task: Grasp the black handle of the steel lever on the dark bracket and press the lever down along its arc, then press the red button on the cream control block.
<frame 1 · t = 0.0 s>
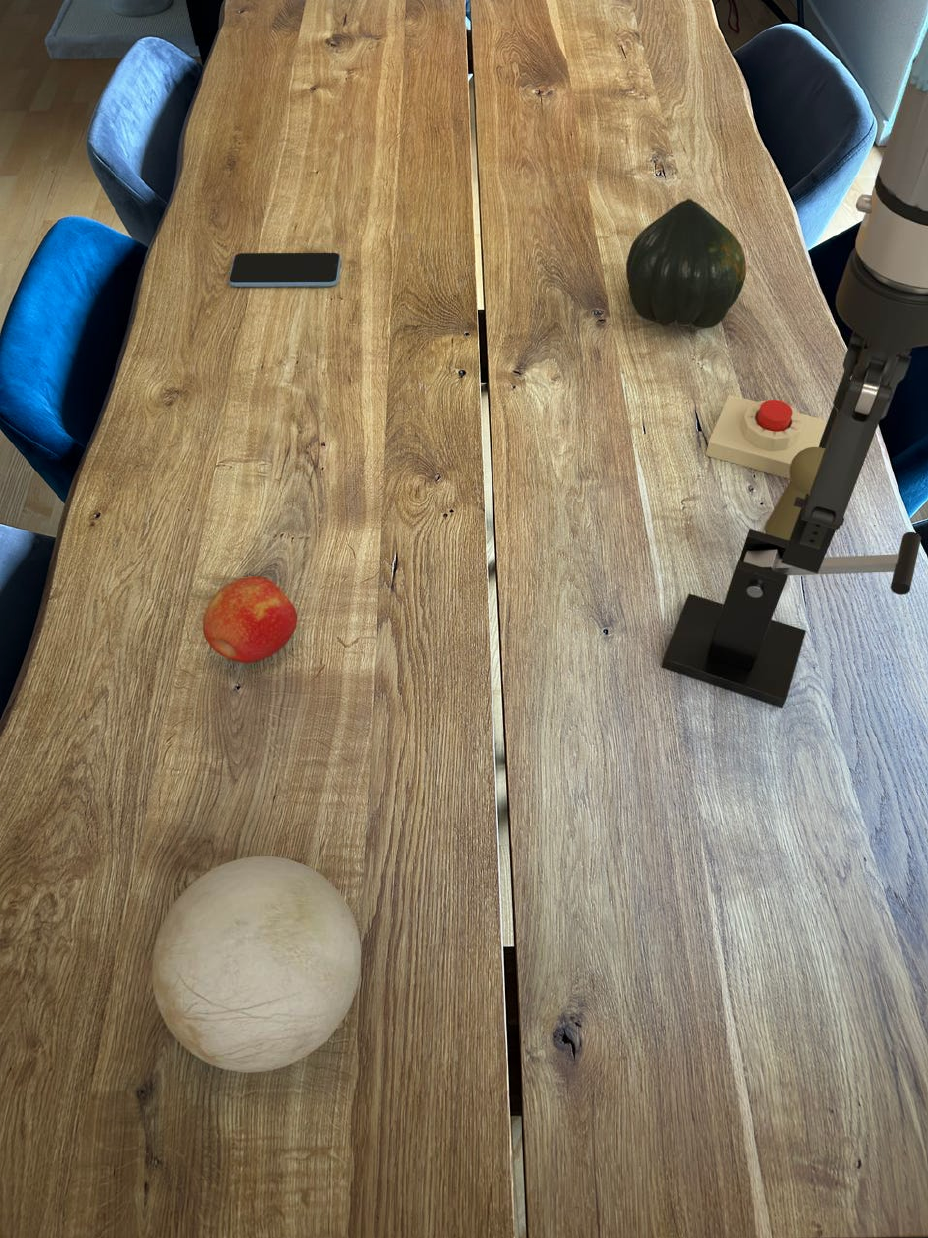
hand: (818, 504, 79), 25 cm above the table, tool pointing down, fingers open, 13 cm apart
squash: (675, 311, 135), on the table
smartphone: (285, 273, 140), on the table
olive game pawn: (792, 533, 110), on the table
control block: (765, 445, 119), on the table
bracket: (732, 653, 100), on the table
lever: (827, 565, 87), point 16 cm above the table, hinge at 28.0°
button: (774, 415, 115), point 4 cm above the table, slide at 0.1 cm
apple: (255, 646, 101), on the table
decorative sphere: (274, 993, 81), on the table
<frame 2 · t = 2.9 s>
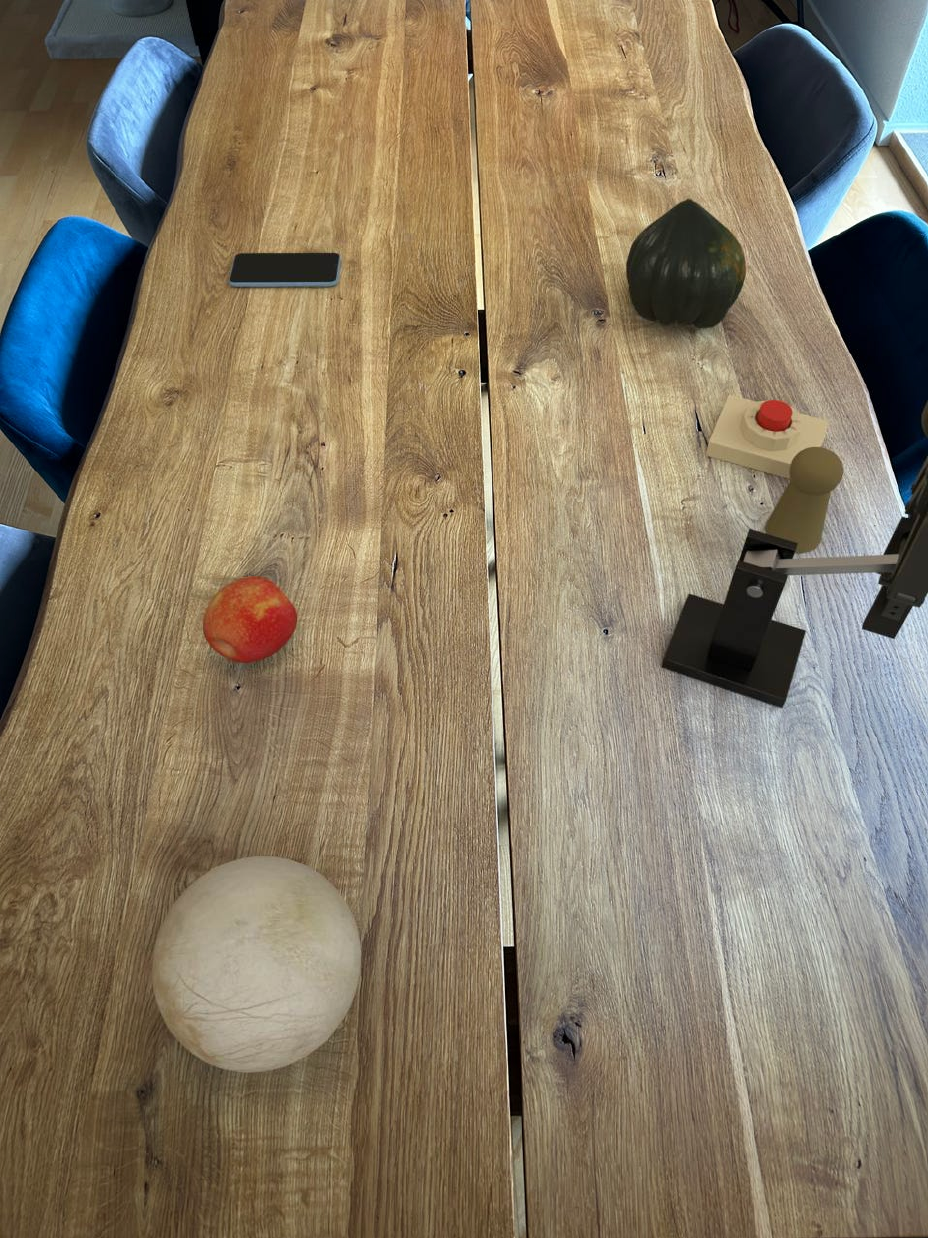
hand: (885, 601, 87), 13 cm above the table, tool pointing down, fingers closed on lever, 6 cm apart
lever: (827, 565, 87), point 16 cm above the table, hinge at 28.0°, touching gripper
everything else where it was.
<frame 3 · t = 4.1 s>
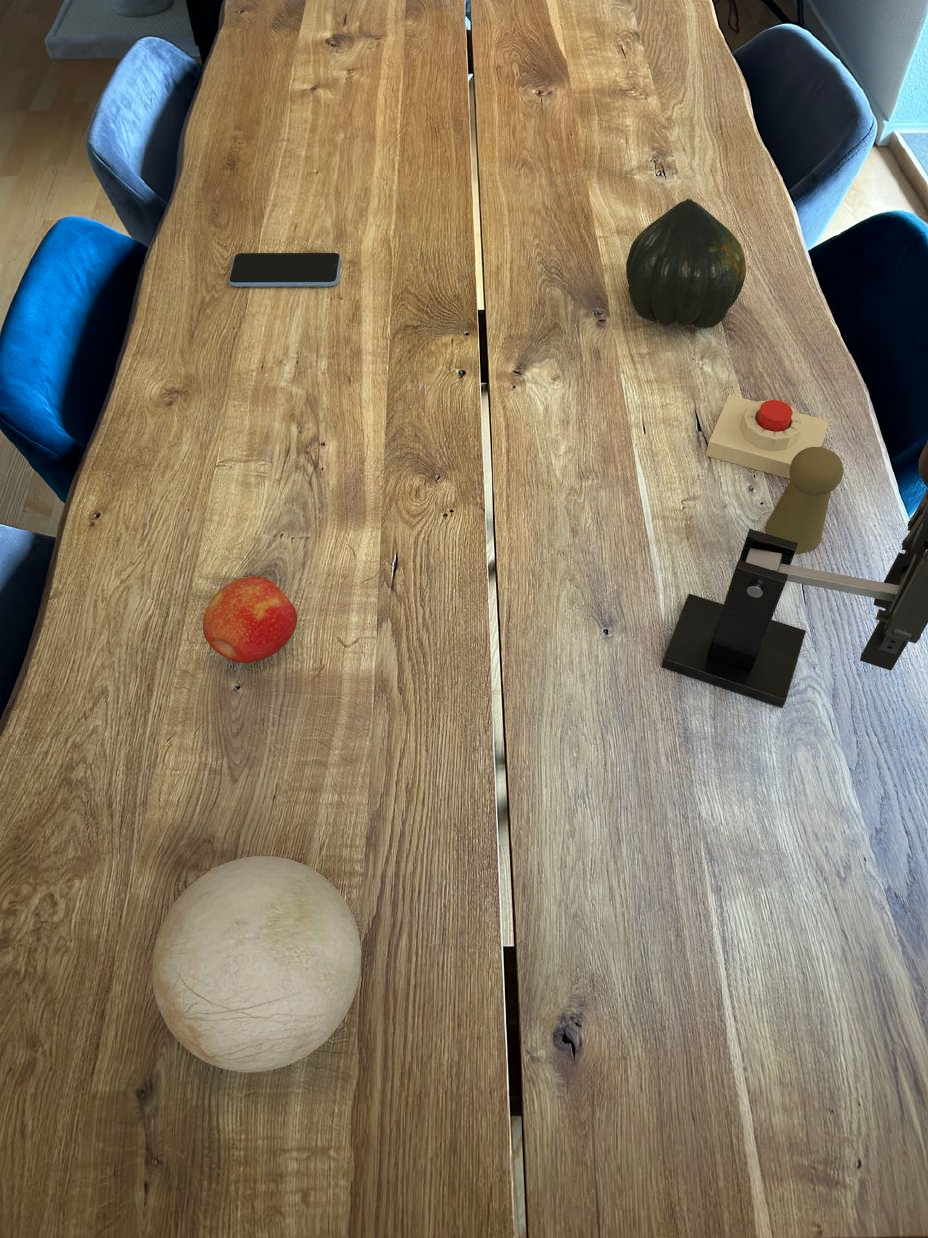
hand: (882, 633, 90), 9 cm above the table, tool pointing down, fingers closed on lever, 6 cm apart
lever: (828, 580, 88), point 14 cm above the table, hinge at 9.4°, touching gripper
everything else where it was.
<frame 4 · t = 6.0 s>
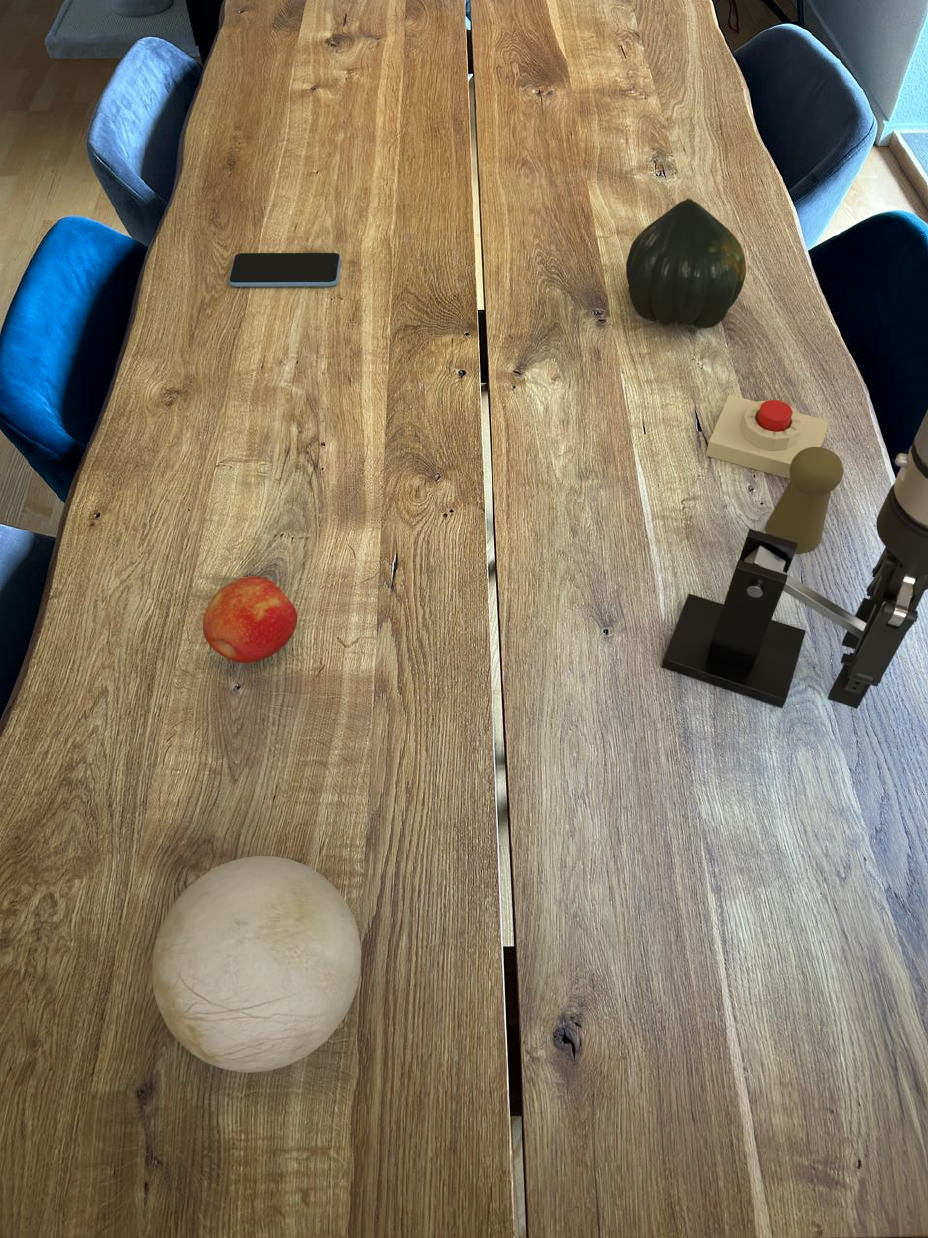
hand: (849, 673, 96), 3 cm above the table, tool pointing down, fingers closed on lever, 6 cm apart
lever: (815, 601, 91), point 11 cm above the table, hinge at -21.6°, touching gripper
everything else where it was.
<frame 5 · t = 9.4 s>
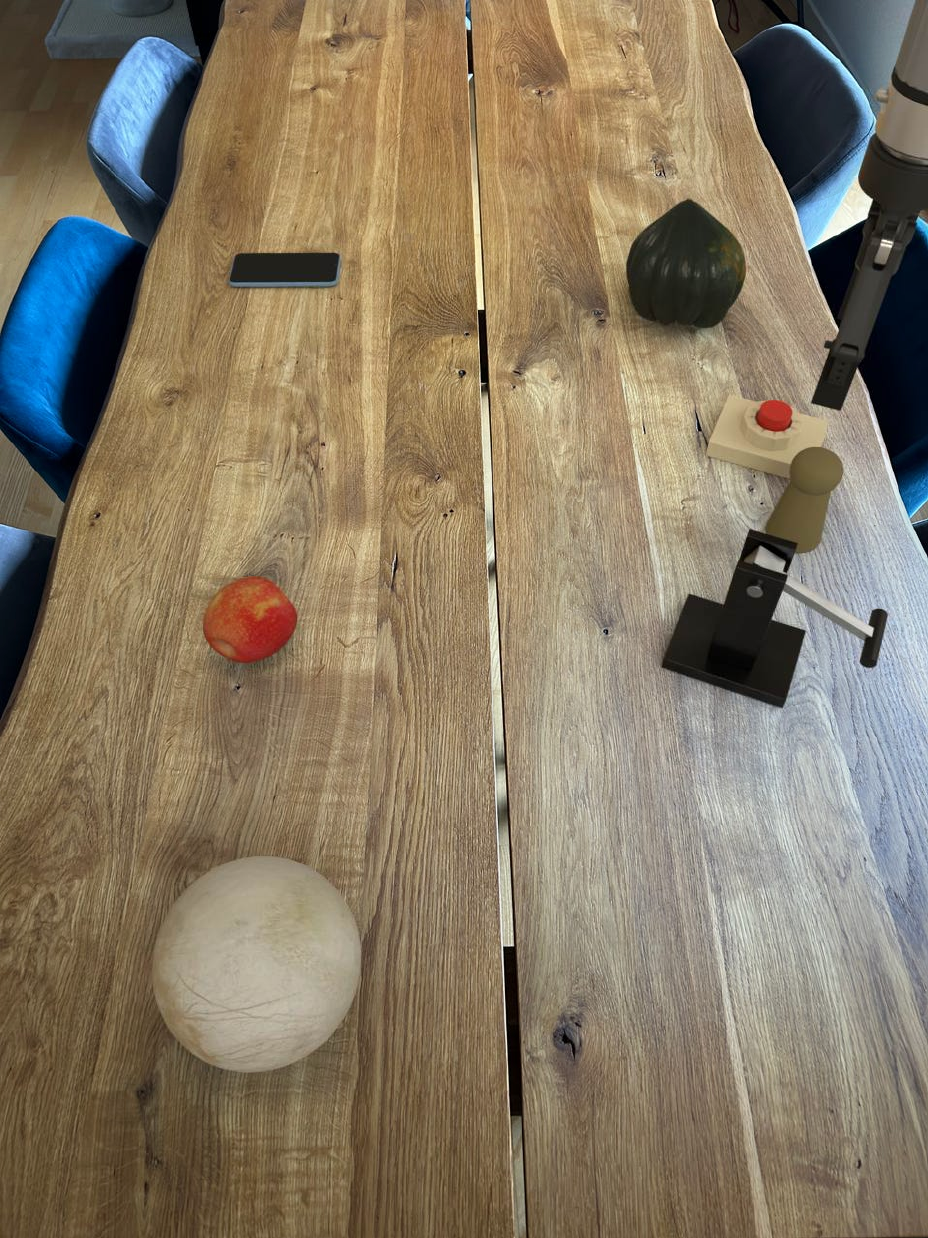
hand: (839, 360, 96), 20 cm above the table, tool pointing down, fingers open, 13 cm apart
lever: (815, 601, 91), point 11 cm above the table, hinge at -21.7°
everything else where it was.
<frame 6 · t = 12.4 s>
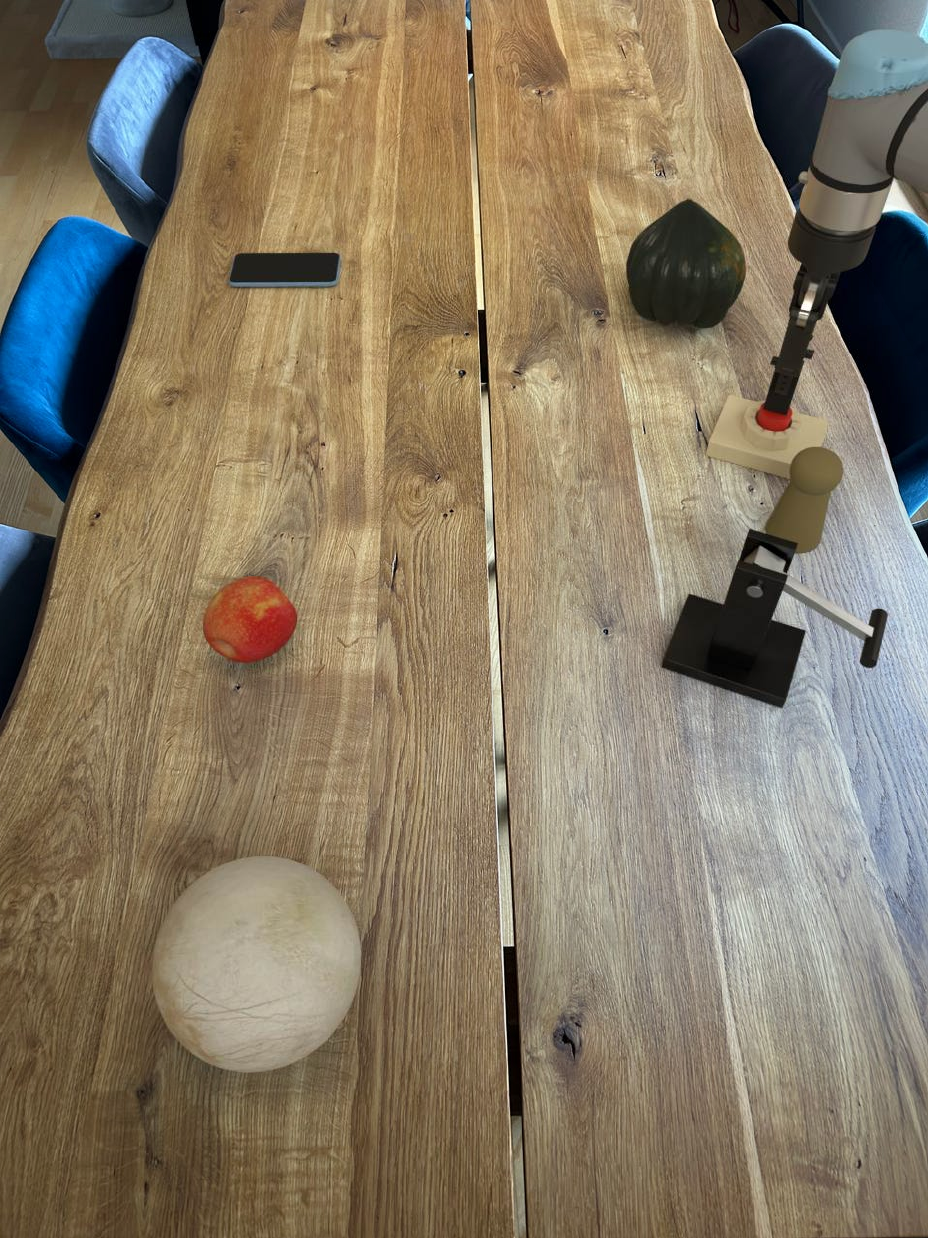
hand: (776, 407, 114), 6 cm above the table, tool pointing down, fingers closed
button: (774, 415, 115), point 4 cm above the table, slide at 0.1 cm, touching gripper
everything else where it was.
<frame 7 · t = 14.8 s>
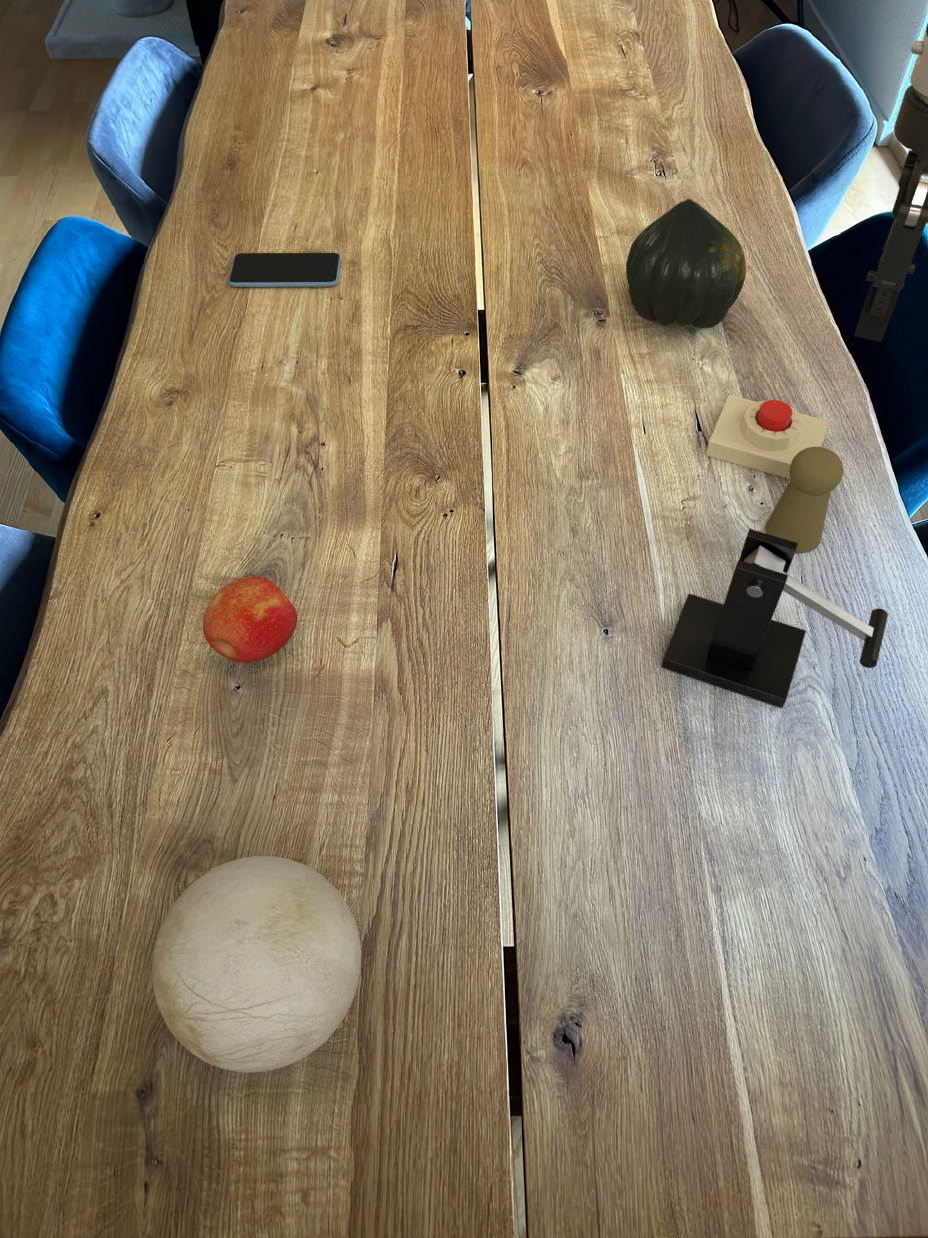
hand: (868, 334, 101), 19 cm above the table, tool pointing down, fingers closed
button: (774, 415, 115), point 4 cm above the table, slide at 0.1 cm
everything else where it was.
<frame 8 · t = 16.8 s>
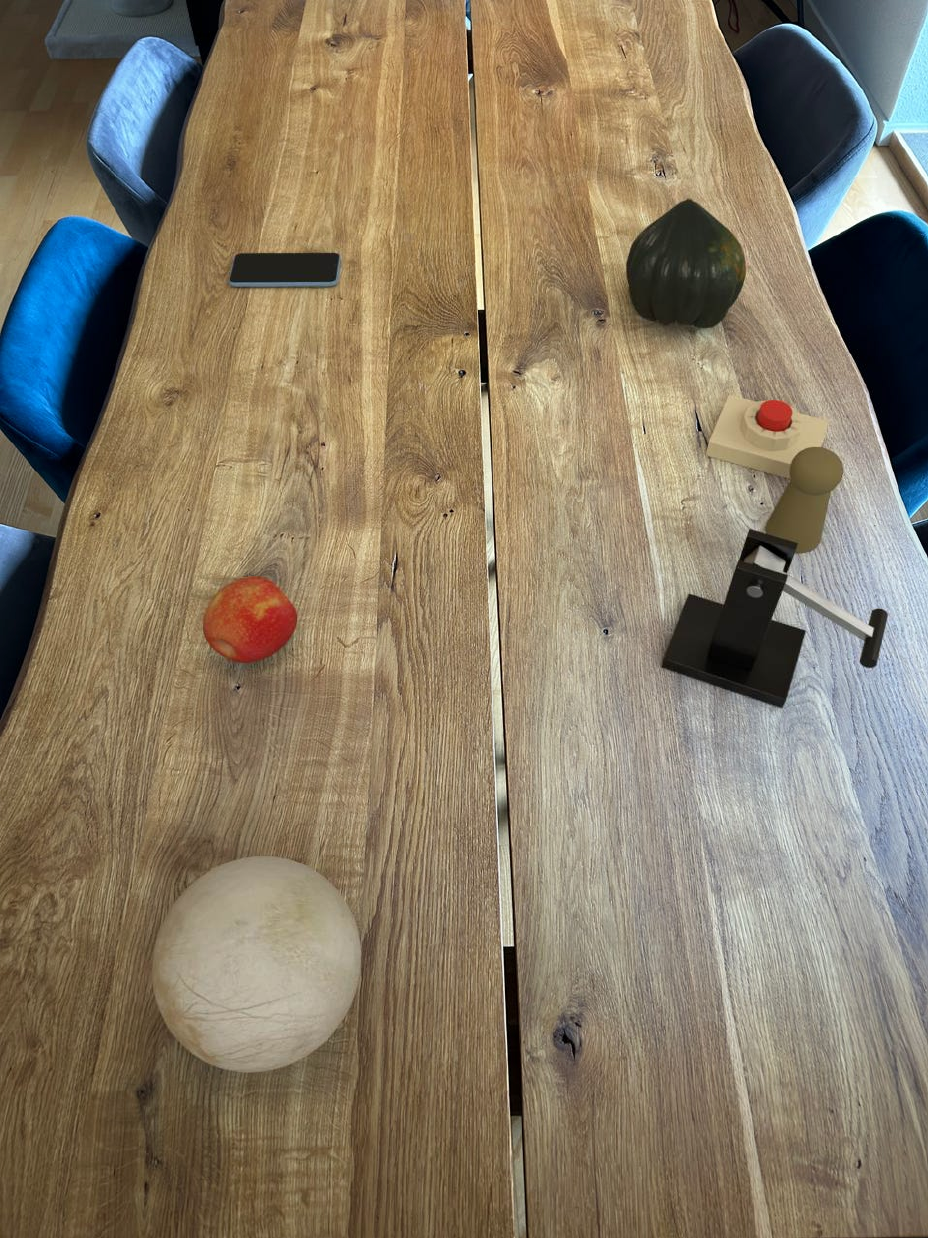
nothing on the table moved.
at the end: lever at -22° (first picture: +28°); button pushed in 1.0 cm at the most during the clip, back to where it started at the end; button slide at 0.1 cm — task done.
